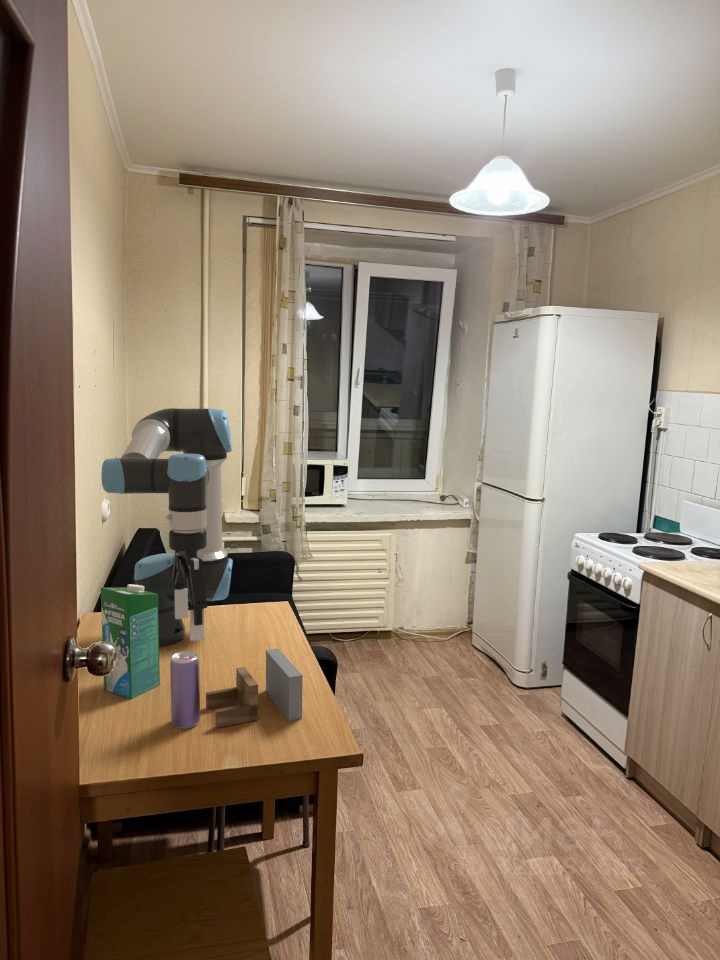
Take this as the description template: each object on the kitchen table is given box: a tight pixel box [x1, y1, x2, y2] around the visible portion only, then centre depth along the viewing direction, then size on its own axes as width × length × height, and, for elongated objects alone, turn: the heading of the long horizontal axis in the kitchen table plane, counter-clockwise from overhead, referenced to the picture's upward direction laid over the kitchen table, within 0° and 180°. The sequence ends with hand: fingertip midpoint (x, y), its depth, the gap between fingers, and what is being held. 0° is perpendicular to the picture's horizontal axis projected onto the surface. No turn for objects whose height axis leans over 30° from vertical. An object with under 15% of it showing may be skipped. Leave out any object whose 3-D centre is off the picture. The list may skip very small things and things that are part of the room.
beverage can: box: [169, 650, 201, 730], centre depth 146 cm, size 6×6×15 cm
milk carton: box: [100, 584, 161, 700], centre depth 161 cm, size 9×9×25 cm
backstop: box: [265, 648, 303, 722], centre depth 156 cm, size 16×3×10 cm, turn 26°
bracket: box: [205, 666, 259, 729], centre depth 151 cm, size 10×9×8 cm
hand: (189, 628), depth 144 cm, fingers open, 13 cm apart
